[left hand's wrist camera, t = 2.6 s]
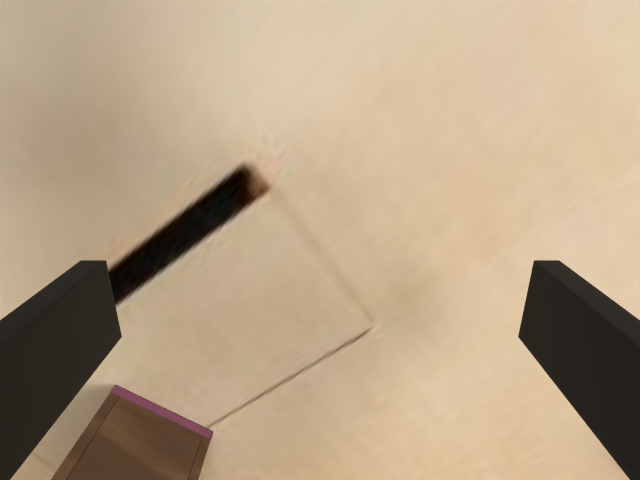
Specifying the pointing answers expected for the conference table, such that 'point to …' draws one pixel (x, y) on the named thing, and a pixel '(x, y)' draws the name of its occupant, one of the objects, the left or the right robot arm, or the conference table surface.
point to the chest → (136, 443)
